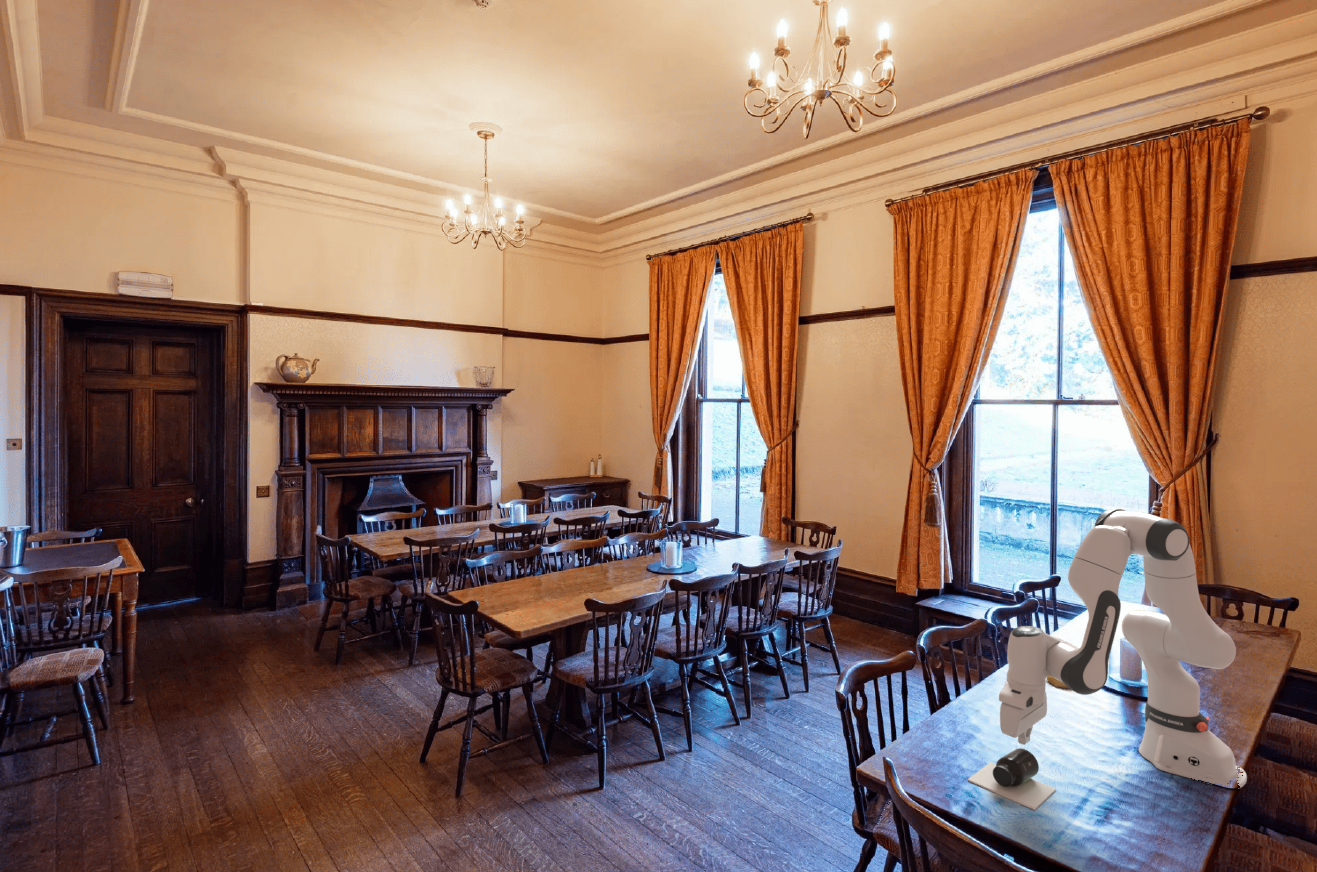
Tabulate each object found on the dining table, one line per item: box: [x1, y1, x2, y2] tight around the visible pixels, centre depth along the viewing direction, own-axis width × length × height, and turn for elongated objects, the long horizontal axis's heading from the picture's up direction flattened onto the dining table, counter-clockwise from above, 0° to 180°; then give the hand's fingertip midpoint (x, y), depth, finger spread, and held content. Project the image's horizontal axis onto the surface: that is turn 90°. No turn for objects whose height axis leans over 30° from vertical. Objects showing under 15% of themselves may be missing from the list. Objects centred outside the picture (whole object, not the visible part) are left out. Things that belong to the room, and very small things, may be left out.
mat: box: [967, 761, 1057, 811], centre depth 167 cm, size 16×13×1 cm
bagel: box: [1046, 676, 1070, 689], centre depth 229 cm, size 10×11×5 cm
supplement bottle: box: [993, 748, 1040, 787], centre depth 167 cm, size 7×7×12 cm
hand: (1023, 742), depth 171 cm, fingers closed
